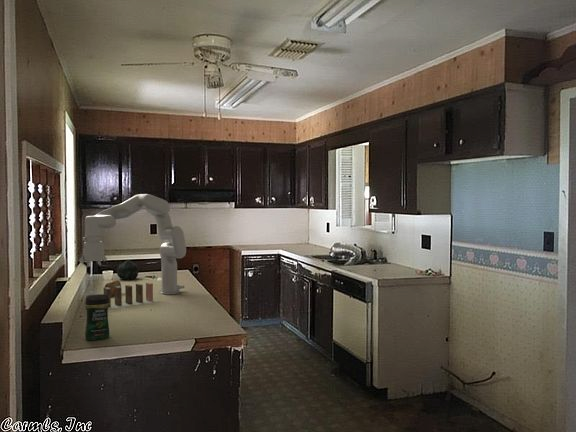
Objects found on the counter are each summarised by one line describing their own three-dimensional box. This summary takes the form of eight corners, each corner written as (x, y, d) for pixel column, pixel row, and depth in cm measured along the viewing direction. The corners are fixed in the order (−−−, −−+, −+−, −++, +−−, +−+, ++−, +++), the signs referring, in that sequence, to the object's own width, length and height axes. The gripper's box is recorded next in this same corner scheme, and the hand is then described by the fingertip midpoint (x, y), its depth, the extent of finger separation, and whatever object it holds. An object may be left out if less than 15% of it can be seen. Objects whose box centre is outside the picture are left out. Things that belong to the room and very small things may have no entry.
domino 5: (149, 299, 282) (149, 282, 282) (152, 301, 278) (152, 283, 278) (146, 300, 281) (145, 282, 281) (149, 301, 277) (149, 284, 277)
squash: (125, 269, 365) (119, 256, 355) (144, 270, 362) (138, 257, 352) (117, 284, 355) (110, 271, 345) (136, 286, 352) (130, 272, 342)
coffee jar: (86, 342, 202) (85, 297, 201) (84, 337, 209) (83, 294, 208) (111, 339, 206) (110, 295, 205) (108, 334, 213) (107, 292, 212)
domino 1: (107, 305, 267) (107, 287, 267) (110, 307, 263) (110, 288, 263) (103, 305, 266) (103, 287, 265) (106, 307, 262) (106, 289, 261)
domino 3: (129, 302, 275) (128, 284, 274) (132, 303, 271) (132, 286, 270) (125, 302, 273) (125, 285, 273) (128, 304, 269) (128, 286, 269)
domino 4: (139, 301, 278) (139, 283, 278) (142, 302, 275) (142, 284, 274) (135, 301, 277) (135, 283, 277) (139, 302, 273) (139, 285, 273)
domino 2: (118, 303, 271) (118, 286, 270) (121, 305, 267) (121, 287, 267) (114, 304, 270) (114, 286, 269) (118, 306, 266) (117, 287, 265)
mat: (150, 299, 286) (150, 298, 286) (158, 302, 277) (158, 301, 277) (94, 306, 266) (94, 305, 266) (101, 310, 257) (101, 309, 257)
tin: (108, 297, 290) (107, 283, 289) (103, 297, 290) (103, 283, 290) (121, 293, 304) (121, 279, 304) (117, 292, 305) (116, 279, 305)
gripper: (78, 240, 250) (79, 276, 251) (111, 238, 261) (111, 272, 262) (74, 239, 256) (74, 274, 257) (106, 237, 267) (106, 271, 267)
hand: (93, 273), depth 259 cm, fingers open, 4 cm apart
